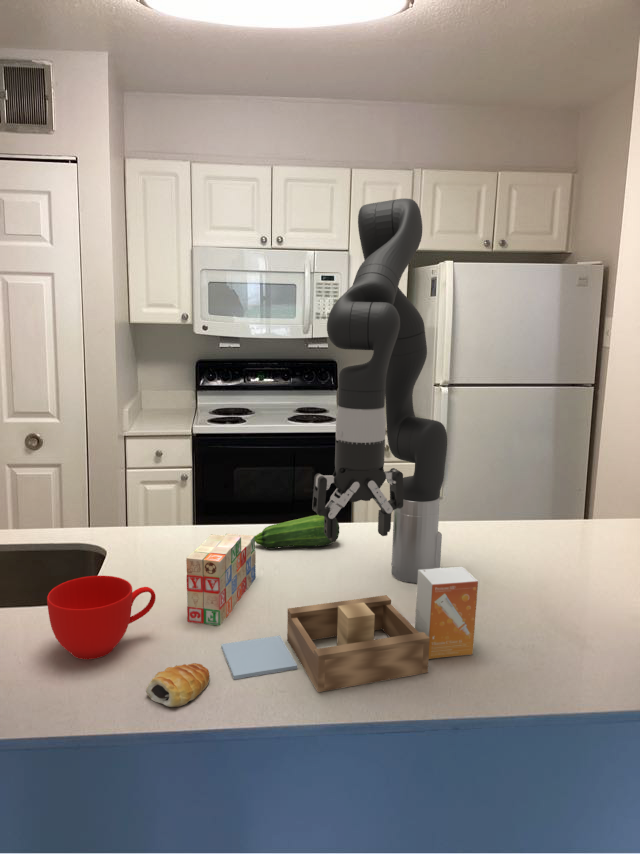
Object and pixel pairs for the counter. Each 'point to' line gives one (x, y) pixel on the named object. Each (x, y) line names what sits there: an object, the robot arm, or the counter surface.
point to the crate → (356, 646)
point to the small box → (447, 610)
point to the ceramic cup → (93, 613)
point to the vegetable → (295, 533)
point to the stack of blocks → (219, 576)
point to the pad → (258, 657)
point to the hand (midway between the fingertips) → (357, 537)
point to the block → (355, 624)
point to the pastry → (178, 684)
